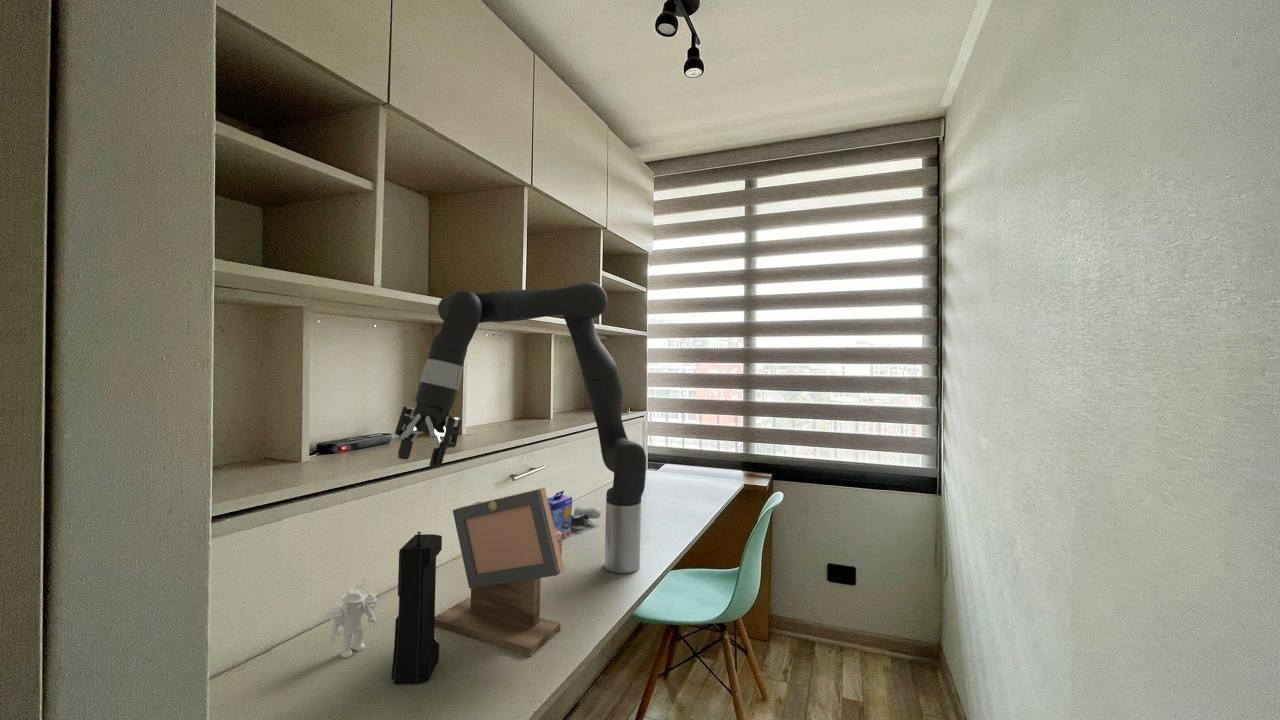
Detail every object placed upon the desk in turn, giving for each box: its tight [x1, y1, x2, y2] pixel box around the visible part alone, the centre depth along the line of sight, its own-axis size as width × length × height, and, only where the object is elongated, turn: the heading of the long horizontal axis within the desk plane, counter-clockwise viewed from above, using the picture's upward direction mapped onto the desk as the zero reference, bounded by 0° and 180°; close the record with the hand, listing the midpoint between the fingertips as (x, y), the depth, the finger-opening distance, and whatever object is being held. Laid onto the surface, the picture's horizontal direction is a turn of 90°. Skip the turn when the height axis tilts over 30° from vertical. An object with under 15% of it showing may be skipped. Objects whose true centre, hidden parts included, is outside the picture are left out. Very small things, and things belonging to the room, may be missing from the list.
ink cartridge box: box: [547, 490, 573, 541], centre depth 154 cm, size 10×6×14 cm, turn 151°
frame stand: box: [434, 501, 561, 657], centre depth 103 cm, size 10×24×24 cm, turn 66°
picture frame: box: [452, 487, 565, 590], centre depth 102 cm, size 3×22×16 cm, turn 66°
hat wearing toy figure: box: [324, 578, 378, 658], centre depth 94 cm, size 9×4×12 cm, turn 147°
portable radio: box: [390, 531, 443, 685], centre depth 89 cm, size 8×6×25 cm
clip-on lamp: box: [571, 505, 602, 528], centre depth 169 cm, size 12×6×18 cm
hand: (418, 463), depth 103 cm, fingers open, 8 cm apart
